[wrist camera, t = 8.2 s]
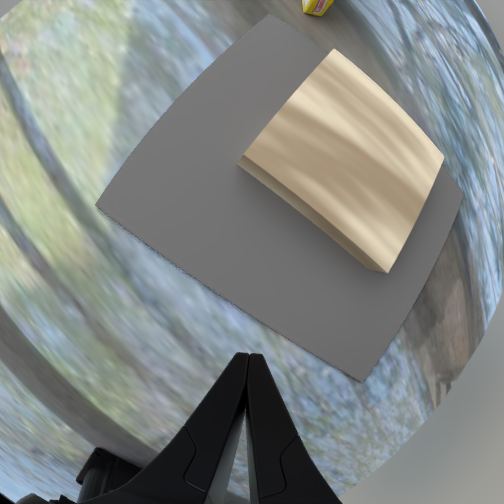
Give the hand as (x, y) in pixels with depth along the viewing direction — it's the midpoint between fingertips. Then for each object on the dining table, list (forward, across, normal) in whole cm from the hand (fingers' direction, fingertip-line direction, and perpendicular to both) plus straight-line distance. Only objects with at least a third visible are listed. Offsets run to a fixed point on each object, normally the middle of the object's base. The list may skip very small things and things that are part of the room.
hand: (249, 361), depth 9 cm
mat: (+14, -4, -2) cm, 14 cm away
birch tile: (+11, -3, -1) cm, 12 cm away
